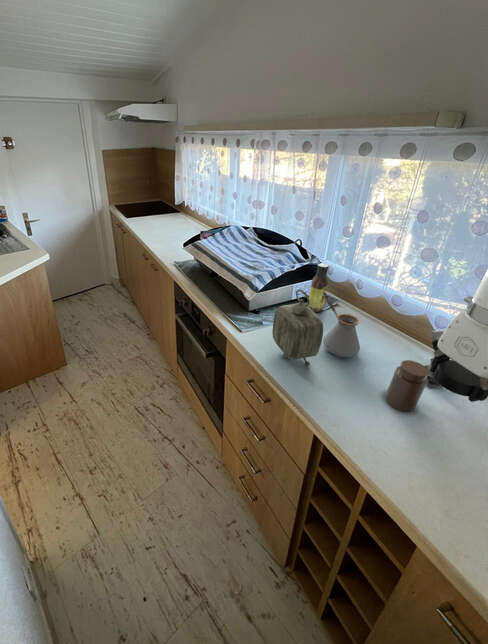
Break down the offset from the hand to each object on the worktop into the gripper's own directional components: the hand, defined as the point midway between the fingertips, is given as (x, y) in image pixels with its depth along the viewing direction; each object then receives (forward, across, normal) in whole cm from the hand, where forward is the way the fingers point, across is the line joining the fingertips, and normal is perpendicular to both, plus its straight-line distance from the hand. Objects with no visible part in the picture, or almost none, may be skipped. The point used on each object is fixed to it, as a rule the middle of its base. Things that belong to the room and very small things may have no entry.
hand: (454, 384), depth 64 cm
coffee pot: (+21, -40, +5) cm, 46 cm away
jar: (+20, -12, +6) cm, 25 cm away
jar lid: (-3, 0, 0) cm, 3 cm away
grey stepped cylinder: (+20, -16, +22) cm, 34 cm away
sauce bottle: (+21, -62, +13) cm, 66 cm away
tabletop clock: (+21, -37, -13) cm, 44 cm away
